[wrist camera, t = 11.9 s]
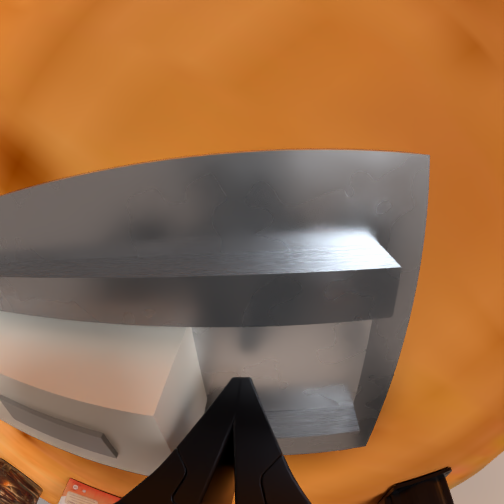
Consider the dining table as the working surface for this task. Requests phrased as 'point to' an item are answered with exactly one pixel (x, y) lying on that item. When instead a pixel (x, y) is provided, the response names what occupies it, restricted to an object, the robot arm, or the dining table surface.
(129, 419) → the white rectangular block
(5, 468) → the jar
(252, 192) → the mount plate
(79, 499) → the cracker box
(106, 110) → the dining table surface
